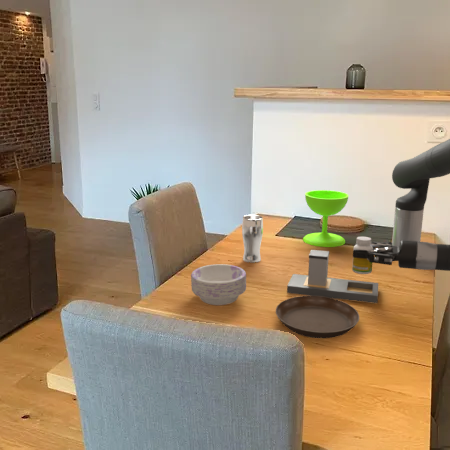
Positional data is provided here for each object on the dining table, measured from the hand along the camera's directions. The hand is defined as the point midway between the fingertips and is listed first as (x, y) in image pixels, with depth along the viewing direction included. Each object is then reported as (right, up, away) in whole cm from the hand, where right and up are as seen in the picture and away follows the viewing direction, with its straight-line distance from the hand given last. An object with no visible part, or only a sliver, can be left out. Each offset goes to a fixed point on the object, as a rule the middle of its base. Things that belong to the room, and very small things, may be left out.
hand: (353, 250), depth 147 cm
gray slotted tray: (-5, -12, +5) cm, 14 cm away
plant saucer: (-13, -18, -15) cm, 27 cm away
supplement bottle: (+3, -6, +1) cm, 7 cm away
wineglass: (+2, +1, +54) cm, 53 cm away
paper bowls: (-38, -14, -1) cm, 40 cm away
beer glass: (-27, -5, +32) cm, 42 cm away
